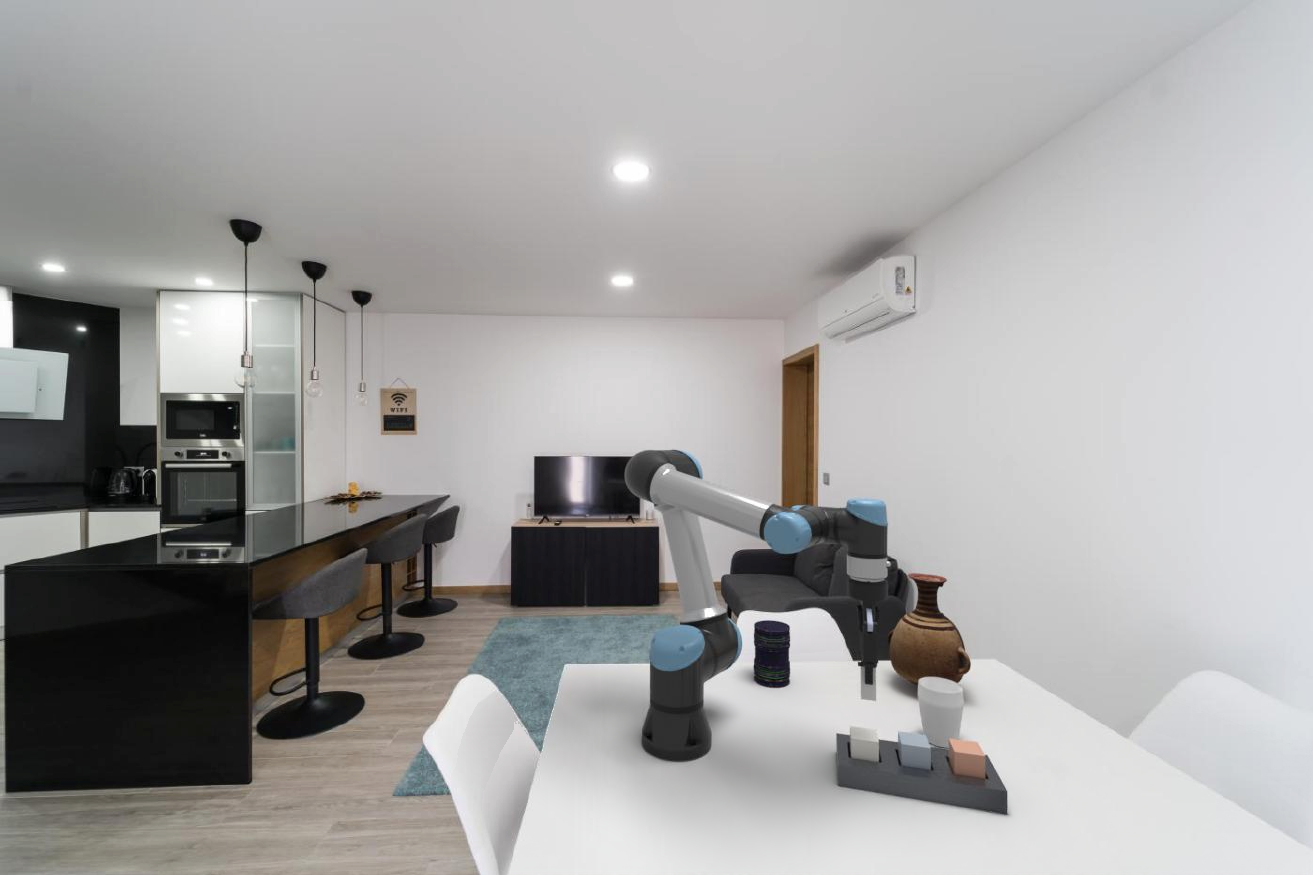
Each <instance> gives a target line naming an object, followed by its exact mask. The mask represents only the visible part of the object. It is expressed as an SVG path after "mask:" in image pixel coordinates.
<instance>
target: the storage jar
mask: <svg viewBox="0 0 1313 875" xmlns="http://www.w3.org/2000/svg"><path fill="white" fill-rule="evenodd" d="M753 627H754V628H753V629H754V630H753V631H754V632H753V645H754V658H753V674H754V676H753V681H754V682H755V683H756V684H757V685H759V686H762V687H765V688H771V689H780V688H785V687H788V686H789V685H790V683H791V682H790V681H791V679H790V676H791V675H790V674H791V662H790V648H791V633H790V631H791V630H790V629H791V626H790V625H789V624H788V623H785V622H783V621H778V620H772V619H771V620H770V619H766V620H759V621H756V622H754V626H753Z"/></svg>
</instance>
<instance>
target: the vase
mask: <svg viewBox="0 0 1313 875" xmlns="http://www.w3.org/2000/svg"><path fill="white" fill-rule="evenodd" d="M907 576H908V578H909V579H911V580H913V581H914V583H915V584H916V588H917V601H916V606H915V609H914V610H912V611H910V612H907V613H906V614H904V615H903V616H902V617H901V618H900V619H899V621H898V622H897V624H896V626H895V628H894V629H893V630H891V631H890V632H889V633H888V635H887V637H886V638H887V639H886V640H887V641H886V642H887V644H888V647H889V659H890V664H891V667H892V668H893V670H894V671H895V673H896V674H897V675H898V676H900V677H901V678H903V679H904V680H906V681H907V682H910V683H911V684H913V685H915V686H916V687H918V681H919V679H920V678H923V677H939V678H944V679H948V680H951V681H954V682H956V683H958V684H959V683H960V682H961V680H962V679H963V677H964V676H965V675H966V674H968V673H969V672H970V670H971V664H972V662H971V659H970V657H969V655H968V653H967V652H966V648H965V643H964V640H963V637H962V635H961V632H960V630H959V629H958V627H957V626H956V625H955V623H954V622H953V621H952V620H951V619H949V618H948V616H945V614H944V613H943V612H941V610H940V608H939V604H938V592H939V591H938V590H939V588H943V587H944V584H945V583H946V582H947V581H948V580H947V578H946V577H944V576H941V575H936V574H935V575H934V574H926V573H917V572H916V573H914V572H913V573H909V574H907Z"/></svg>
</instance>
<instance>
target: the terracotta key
mask: <svg viewBox="0 0 1313 875" xmlns="http://www.w3.org/2000/svg"><path fill="white" fill-rule="evenodd" d="M948 749H949V766H950V769H951V771H952V774H957V775H964V776H970V777H977V778H983V779H985V755H986V754H984V753H985V752H984V751H983V750H982V748H981V746H980V744H979V742H977V741H970V740H964V739H950V738H949V748H948Z"/></svg>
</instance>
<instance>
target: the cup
mask: <svg viewBox="0 0 1313 875" xmlns="http://www.w3.org/2000/svg"><path fill="white" fill-rule="evenodd" d="M917 700H918V706H919V707H918V708H919V714H920V719H921V721H920V722H921V726H922V735H926V737H927V740H928V742H929V744H931V745H933V746H936V747H938V748H943V749H949V738H950V739H958V740H960V738H959V737H960V733H961V732H960V731H961V726H962V718H963V712H964V706H965V699H964V688H963V686H962V685H960V684H959V683H956V682H954V681H951V680H948V679H944V678H939V677H923V678H920V679H919V681H918V686H917Z"/></svg>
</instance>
